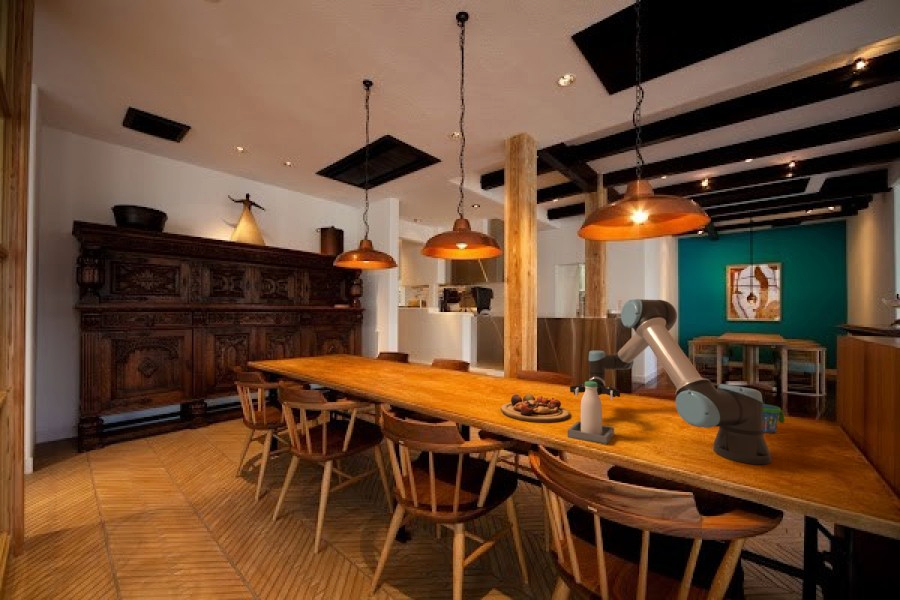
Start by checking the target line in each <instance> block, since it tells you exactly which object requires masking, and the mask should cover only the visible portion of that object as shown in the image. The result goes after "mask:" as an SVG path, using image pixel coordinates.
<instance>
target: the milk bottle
mask: <svg viewBox="0 0 900 600" xmlns="http://www.w3.org/2000/svg"><path fill="white" fill-rule="evenodd" d="M584 386H585V392H583V395H582V397H581V401H580V422H581V432H586V433H591V434H596V435H602V425H603V409H602V408H603V407H602V406H603V405H602V400H601V397H600V395H598V393H597V382H593V381H589V380H588V381H587V380H586V381H584Z"/></svg>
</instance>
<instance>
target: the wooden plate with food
mask: <svg viewBox="0 0 900 600" xmlns="http://www.w3.org/2000/svg"><path fill="white" fill-rule="evenodd" d="M561 405H562V402H561V401H560V400H559V399H554V398H553V397H551V399H549V397H543V395H540V396H538V397H537V398H535V396H533V395H532V394H531V393H527V394H526V395H524V396H523V398H522V397H521V396H520V395H519V394H518V393H515V394H513V395H512V396H511V398H510V402H506V403H505V404H503V405H501V407H500V411H501V413H502V414H503V415H505V416H507V417H509V418H512V419H516V420H521V421H526V422H533V423H556V422H562V421H565V420H567V419H569V418H570V412H569V410H567V409H566V408H564V407H562V406H561Z"/></svg>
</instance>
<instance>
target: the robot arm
mask: <svg viewBox="0 0 900 600" xmlns="http://www.w3.org/2000/svg"><path fill="white" fill-rule="evenodd" d="M620 312H621V313H620V320H621V323H622V324H623V326H624V327H625V328H628V329H633V330H634V332H635V334H634V335H632V337H631V338H630V339H629V340H628V341H626V343H625V344H624V345H623V346H622V347H621V348H620V349H619V350H618V351H617V352H616V353H614V354H613V353H612V354H607V353H606V352H605V351H603V350H590V351H589V352H588V370H589V371H588V381H593V382H597V393H598V396H601V395H606V396H610V398H609V399H610V401H613V399H614V398H616V397H617V398H620V397H621V390H619V389H616V388H614V387H612V386H607V387H606V384H607V383H606V382H607V381H606V371H608V370H609V371H610V370H611V371H612V370H619V371H620V370H621V371H624V370H625V371H626V370H630V369H632V368H633V367H634V366H633V365H634V363H635V362H634V360H635V359H636V358H637V357H638V356H639V355H641V354H642V352H644V351H645V350H646V349H647V348H648V347H649V348H650V349H651V352H653V354H654V356H655V357H656V358H657V360H658V361H659V363H660V365H661V367H662V368H663V369H664V371H665V372H666V374H667V375H668V377H669V379H670V380H671V382H672V383H673V384H674V387H675V388H676V390H675V396H676V398H675V404H676V405H675V408H676V411H677V413H678V415H679V417H681V419H682V420H683V421H684V422H685V423H687V424H688V425H691V426H693V427H696V428H704V429H705V428H706V429H709V428H717V427H718V431H717V433H716V436H715V437H714V438H715V439H714V441H713V443H712V445H713V446H712V447H713V448H712V449H713V450H712V451H713V452H714V453H715V454H717V456H721V457H723V458H725V459H729V460H730V461H731V460H732V461H735V462H738V463H746V464H751V465H768V464H771V463H772V454H771V451H770V449H769V447H768V446H769V445H767V442H766V439H765V436H764V432H763V404H764V401H763V395H762V393H761V391H759V390H757V389H754V388H751V387H750V388H749V387H745V386H739V385H733V384H727V383H726V384H724V383H720V384H718V386H717V388H716V387H715V386H714V384H713V382H712V381H711V380H710V379H708V378H705V377H702V376H701V375H700V373H699V372H698V370H697V369H696V368H695V366H694V364H692V362H691V360H690V359H689V358H688V356H687V355H686V353H684V351H683V349H682V348H681V347H680V345H679V343H677V341H676V340H675V339H674V337H673V336H672V334H671V333H670V330H672V328H673V327H674V326H675V324H676V322H677V318H678V312H677V310H676V308H675V306H674V305H673V304H672V303H671V302H669V301H666V300H662V299H642V298H641V299H639V298H637V299H629V300H628V301H626V302H625V303H624V305H623V306H622V308H621V311H620ZM569 392H570V393H573V395H574V396H575V398H576V397H578V396H579V394H582V393H585V385H584V384H582V383H579V384H576V385H571V386H570V387H569Z"/></svg>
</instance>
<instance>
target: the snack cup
mask: <svg viewBox="0 0 900 600" xmlns="http://www.w3.org/2000/svg"><path fill="white" fill-rule="evenodd" d="M785 421H786V420H785V415H784V412H783V410H782V409H781V407H779V406H777V405H772V404H771V405H770V404H766V403H763V433H767V434H771V433H773V432H774V433H776V432H777V429H778V423H781V424H784V423H785ZM774 433H773V434H774Z"/></svg>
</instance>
